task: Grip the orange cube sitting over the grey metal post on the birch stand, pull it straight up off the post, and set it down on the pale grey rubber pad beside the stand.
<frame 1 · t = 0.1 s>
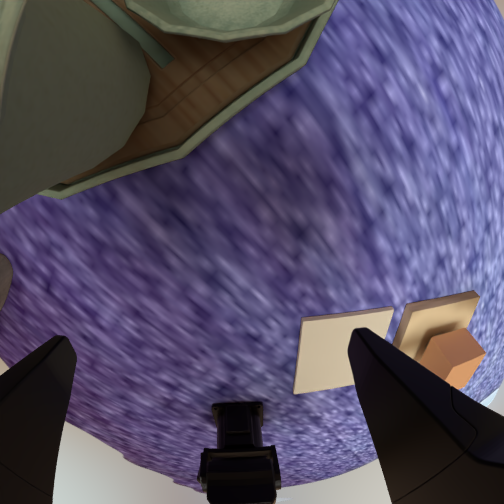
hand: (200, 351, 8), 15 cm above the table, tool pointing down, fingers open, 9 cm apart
post stand: (429, 334, 30), on the table
pad: (340, 353, 29), on the table
orange cube: (440, 350, 27), point 3 cm above the table, touching post stand
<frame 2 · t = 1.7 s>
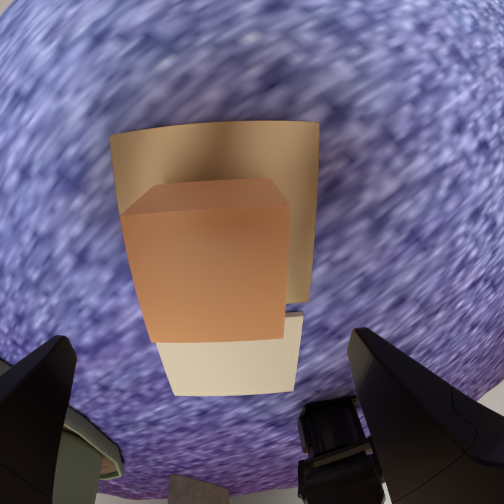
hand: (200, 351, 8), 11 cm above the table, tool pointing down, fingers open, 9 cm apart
tea set: (30, 417, 32), on the table
post stand: (217, 216, 18), on the table
pad: (229, 359, 24), on the table
orange cube: (214, 235, 15), point 3 cm above the table, touching post stand
hip flask: (202, 483, 42), on the table
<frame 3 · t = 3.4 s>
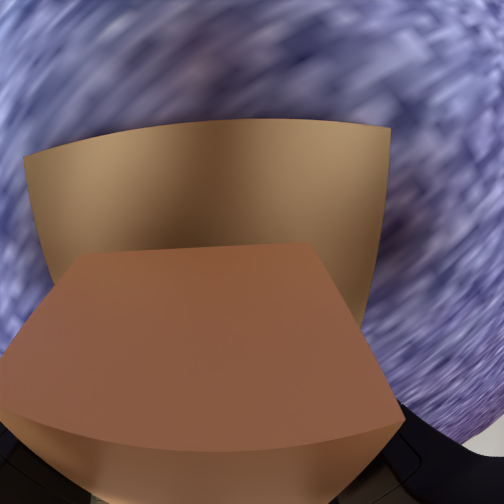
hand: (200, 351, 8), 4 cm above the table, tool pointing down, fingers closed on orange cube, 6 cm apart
post stand: (207, 284, 11), on the table
orange cube: (201, 339, 8), point 3 cm above the table, touching gripper, post stand
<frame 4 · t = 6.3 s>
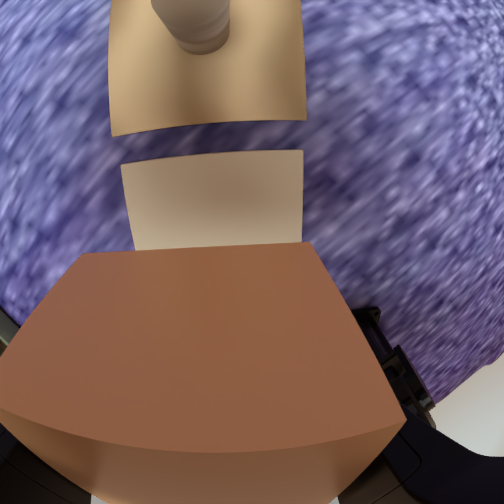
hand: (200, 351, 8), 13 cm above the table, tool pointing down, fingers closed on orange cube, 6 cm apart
tea set: (2, 375, 28), on the table
post stand: (204, 38, 14), on the table
pad: (215, 224, 19), on the table
orange cube: (201, 339, 8), point 12 cm above the table, touching gripper
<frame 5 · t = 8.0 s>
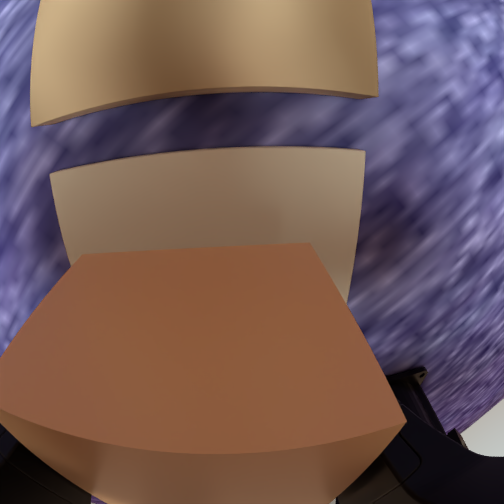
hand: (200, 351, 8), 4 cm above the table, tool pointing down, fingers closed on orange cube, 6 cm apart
pad: (207, 273, 11), on the table
orange cube: (201, 339, 8), point 4 cm above the table, touching gripper
when the fingers open (3 cm above the table, at t = 9.3 s): orange cube drops 1 cm, resting on pad.
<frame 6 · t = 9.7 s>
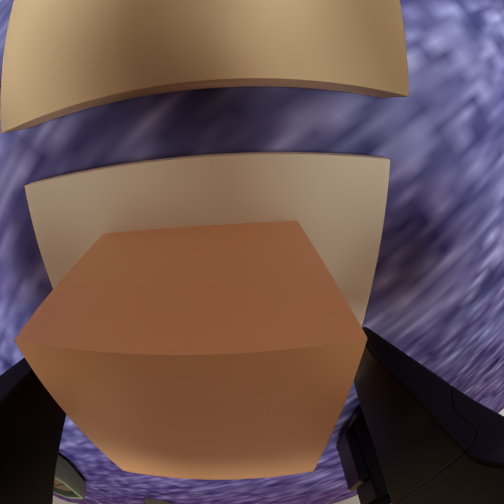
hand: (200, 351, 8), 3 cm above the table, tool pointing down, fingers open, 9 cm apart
pad: (205, 299, 10), on the table
orange cube: (206, 309, 9), point 1 cm above the table, touching pad
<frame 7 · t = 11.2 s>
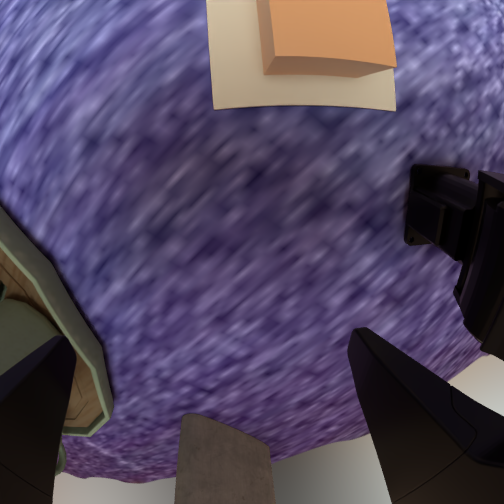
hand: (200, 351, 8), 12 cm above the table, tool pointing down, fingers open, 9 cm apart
pad: (304, 35, 13), on the table
orange cube: (308, 33, 13), point 1 cm above the table, touching pad
hip flask: (231, 434, 32), on the table
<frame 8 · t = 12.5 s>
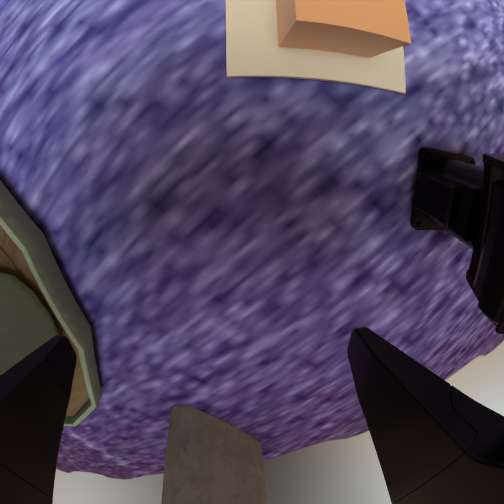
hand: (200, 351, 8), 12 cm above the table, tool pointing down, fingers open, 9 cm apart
pad: (319, 15, 13), on the table
orange cube: (323, 12, 12), point 1 cm above the table, touching pad
hip flask: (223, 428, 31), on the table
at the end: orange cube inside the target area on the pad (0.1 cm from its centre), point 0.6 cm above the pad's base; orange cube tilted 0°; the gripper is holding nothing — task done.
